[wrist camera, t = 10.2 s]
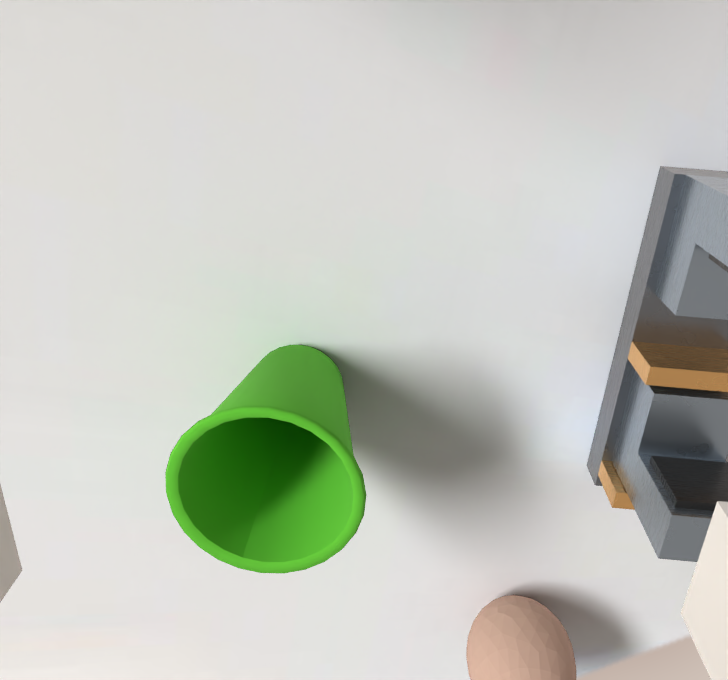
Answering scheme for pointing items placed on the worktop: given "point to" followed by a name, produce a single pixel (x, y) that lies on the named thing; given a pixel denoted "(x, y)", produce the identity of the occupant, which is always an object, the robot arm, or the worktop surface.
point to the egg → (519, 643)
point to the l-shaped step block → (674, 463)
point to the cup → (271, 468)
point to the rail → (649, 316)
